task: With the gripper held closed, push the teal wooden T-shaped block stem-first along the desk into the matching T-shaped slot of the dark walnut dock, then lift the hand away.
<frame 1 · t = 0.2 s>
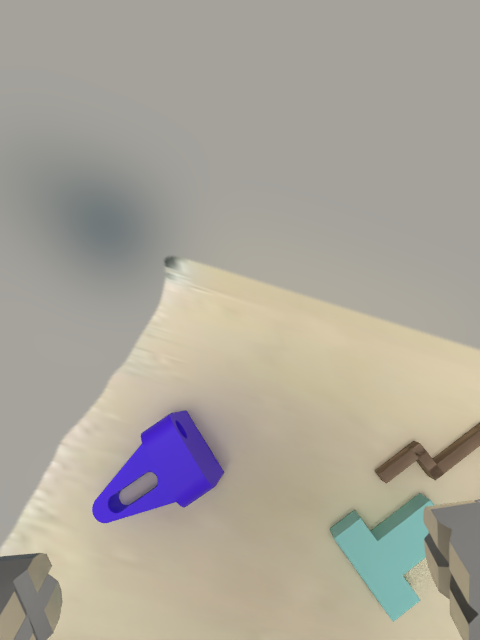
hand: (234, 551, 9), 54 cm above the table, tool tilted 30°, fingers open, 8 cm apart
dock: (430, 509, 57), on the table
bracket: (156, 473, 61), on the table
t block: (369, 556, 57), on the table
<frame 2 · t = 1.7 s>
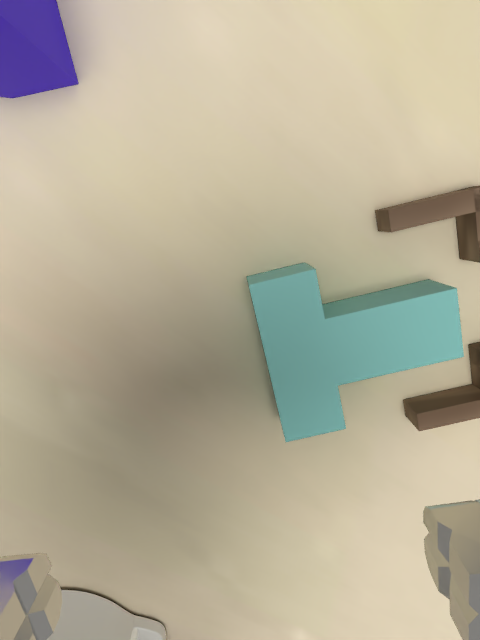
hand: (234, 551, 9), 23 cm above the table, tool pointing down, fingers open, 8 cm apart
dock: (429, 311, 31), on the table
t block: (291, 343, 32), on the table
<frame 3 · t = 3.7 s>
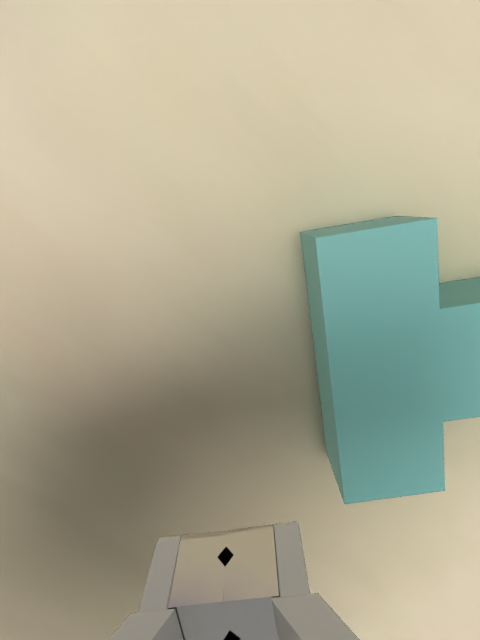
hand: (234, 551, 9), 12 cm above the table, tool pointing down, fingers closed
t block: (358, 344, 20), on the table
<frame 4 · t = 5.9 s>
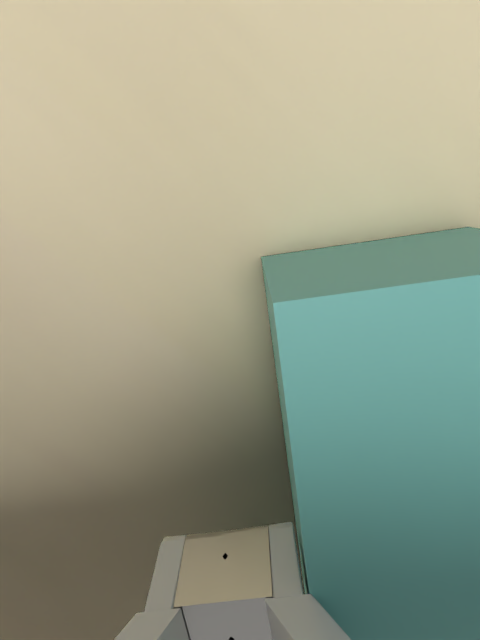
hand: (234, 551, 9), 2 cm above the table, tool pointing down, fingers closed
t block: (375, 471, 10), on the table, touching gripper
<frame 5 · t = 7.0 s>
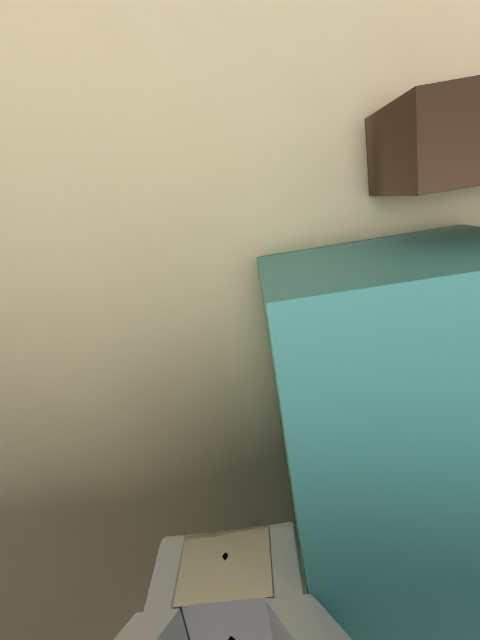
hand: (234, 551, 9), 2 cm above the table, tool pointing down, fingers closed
t block: (374, 469, 11), on the table, touching gripper
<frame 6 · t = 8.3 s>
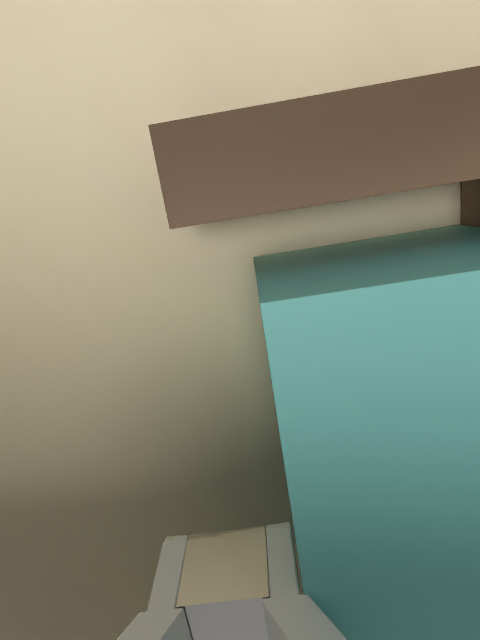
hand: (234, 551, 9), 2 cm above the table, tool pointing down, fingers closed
dock: (353, 472, 11), on the table
t block: (372, 469, 11), on the table, touching dock, gripper
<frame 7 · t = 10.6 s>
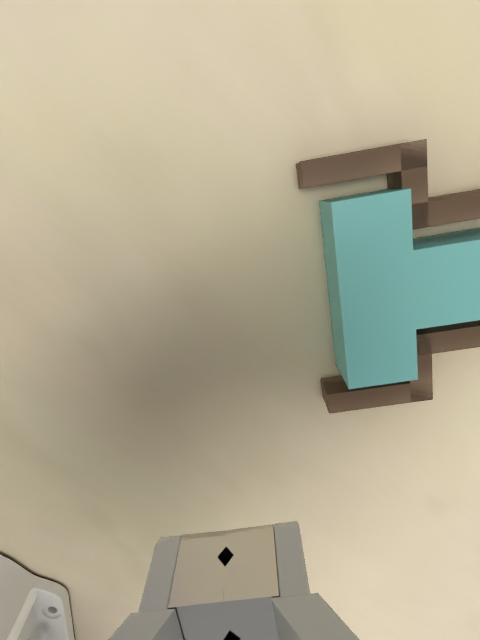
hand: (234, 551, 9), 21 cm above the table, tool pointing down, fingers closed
dock: (353, 284, 28), on the table
t block: (359, 282, 28), on the table
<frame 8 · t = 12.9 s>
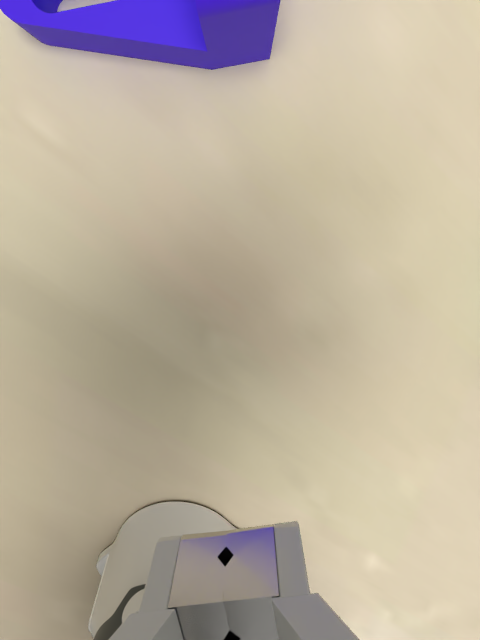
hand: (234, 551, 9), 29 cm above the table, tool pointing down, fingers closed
bracket: (142, 1, 30), on the table
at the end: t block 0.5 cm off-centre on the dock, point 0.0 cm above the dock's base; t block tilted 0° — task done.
